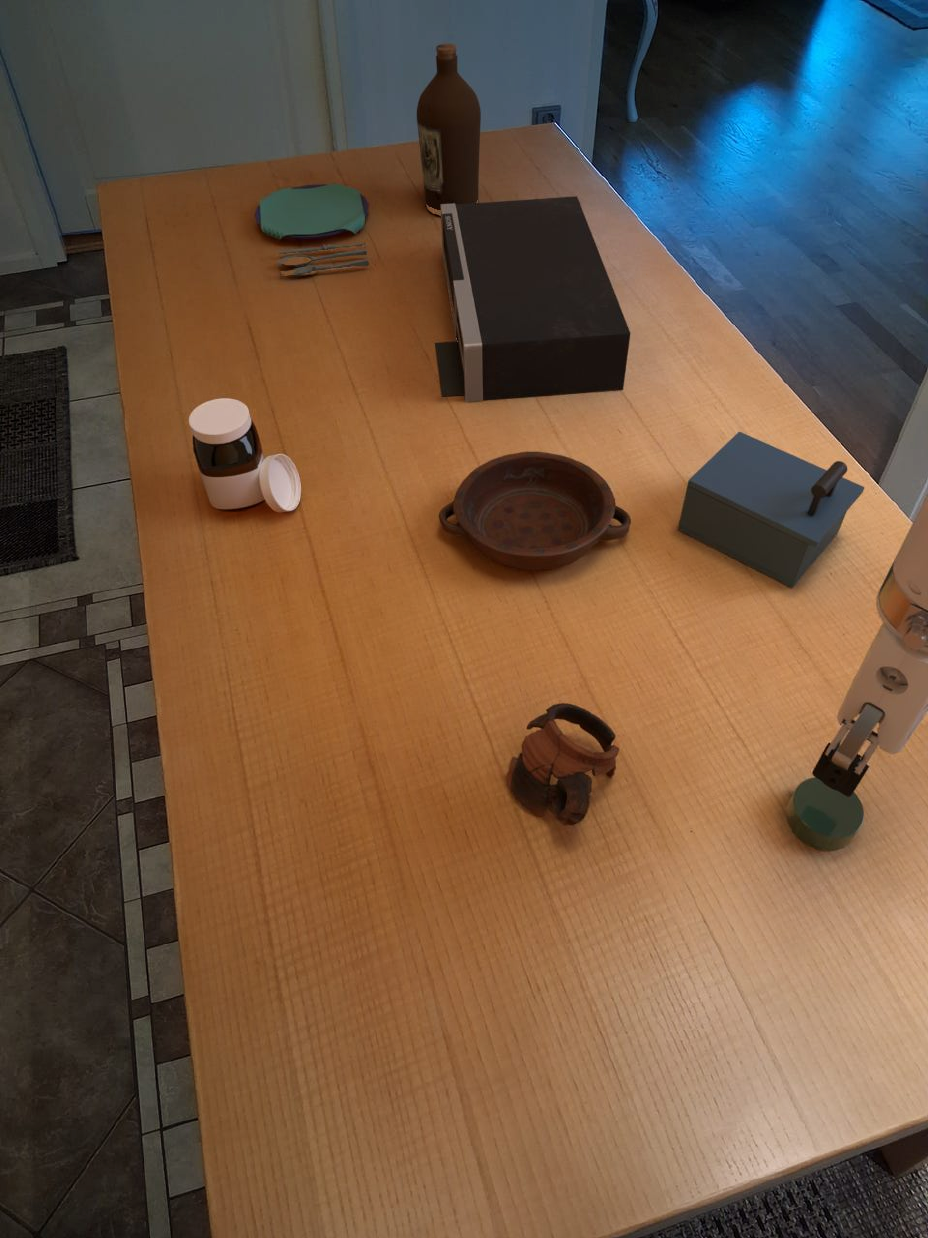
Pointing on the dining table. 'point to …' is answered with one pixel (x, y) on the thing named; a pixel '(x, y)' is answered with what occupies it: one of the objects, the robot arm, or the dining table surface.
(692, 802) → the dining table surface
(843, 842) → the dark green puck
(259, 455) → the spread jar
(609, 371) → the video player
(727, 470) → the lunchbox lid
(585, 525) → the dish
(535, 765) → the brown hollow curved piece
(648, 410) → the dining table surface
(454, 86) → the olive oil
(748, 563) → the lunchbox
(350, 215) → the cutlery set
